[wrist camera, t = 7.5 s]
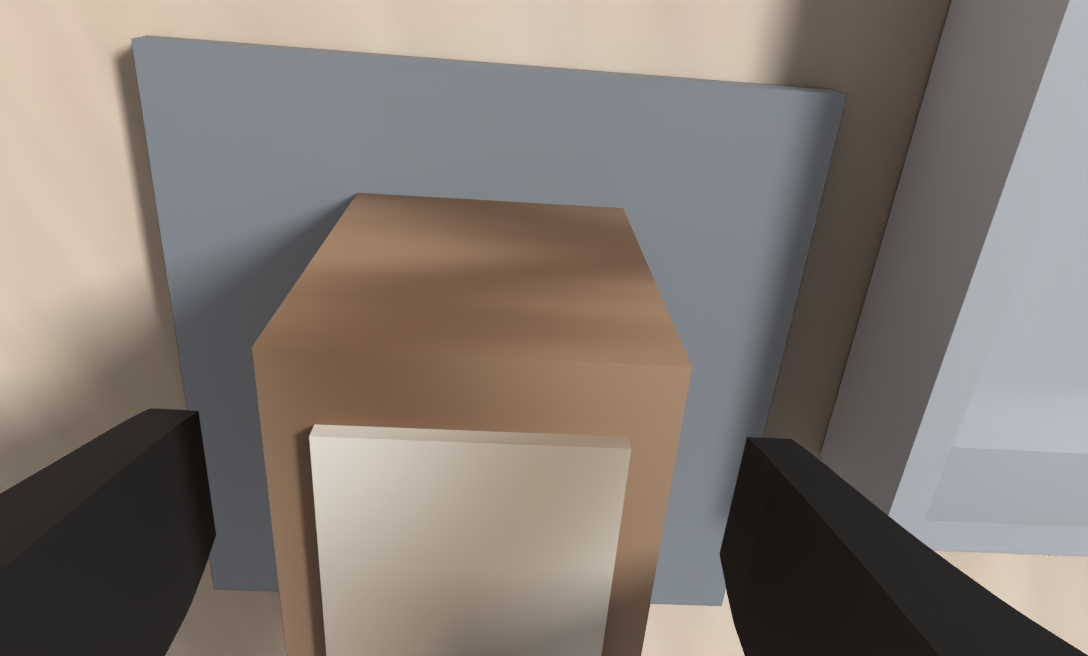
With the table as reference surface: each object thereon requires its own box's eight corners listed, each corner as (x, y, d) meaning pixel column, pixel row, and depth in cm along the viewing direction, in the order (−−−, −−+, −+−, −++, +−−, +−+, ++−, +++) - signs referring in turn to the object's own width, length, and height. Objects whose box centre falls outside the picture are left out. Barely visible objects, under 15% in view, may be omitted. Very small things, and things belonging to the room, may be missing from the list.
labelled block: (622, 207, 11) (696, 377, 7) (586, 518, 14) (620, 794, 9) (357, 192, 11) (244, 357, 7) (370, 511, 14) (295, 790, 9)
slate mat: (715, 587, 16) (721, 606, 15) (222, 570, 15) (213, 589, 15) (833, 89, 11) (846, 94, 11) (147, 35, 11) (130, 38, 10)
